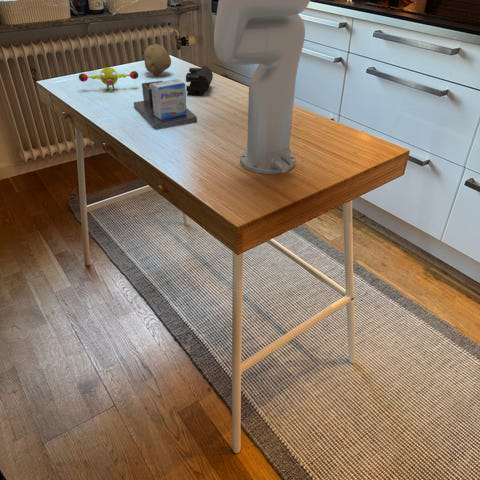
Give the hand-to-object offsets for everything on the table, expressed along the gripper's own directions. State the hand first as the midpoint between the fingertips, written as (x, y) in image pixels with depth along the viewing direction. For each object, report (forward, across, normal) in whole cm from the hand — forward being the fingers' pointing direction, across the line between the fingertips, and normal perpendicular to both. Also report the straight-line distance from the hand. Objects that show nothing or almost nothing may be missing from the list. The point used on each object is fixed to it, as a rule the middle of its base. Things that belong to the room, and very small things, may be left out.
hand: (228, 6), depth 112 cm
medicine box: (+26, +17, -1) cm, 31 cm away
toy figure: (+27, +25, -33) cm, 50 cm away
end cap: (+27, 0, -20) cm, 34 cm away
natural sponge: (+27, +6, -42) cm, 50 cm away
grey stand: (+27, +17, -6) cm, 33 cm away
